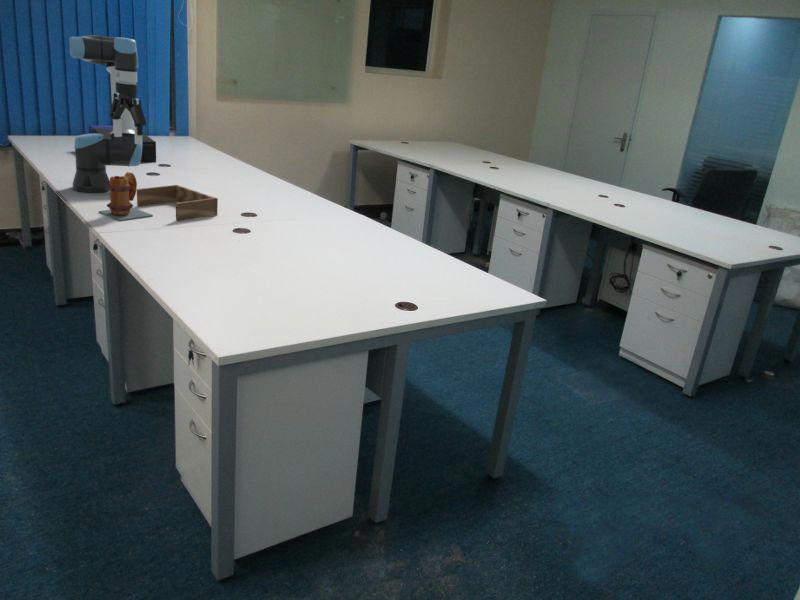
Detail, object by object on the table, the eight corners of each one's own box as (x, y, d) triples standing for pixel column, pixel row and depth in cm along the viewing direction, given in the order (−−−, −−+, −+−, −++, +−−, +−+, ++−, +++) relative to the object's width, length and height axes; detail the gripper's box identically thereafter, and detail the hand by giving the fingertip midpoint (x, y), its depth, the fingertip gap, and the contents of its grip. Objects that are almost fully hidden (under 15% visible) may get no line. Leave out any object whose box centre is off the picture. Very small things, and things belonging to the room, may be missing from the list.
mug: (122, 218, 243) (120, 178, 238) (103, 214, 245) (101, 175, 239) (144, 210, 257) (143, 173, 251) (126, 207, 258) (125, 169, 253)
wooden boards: (137, 205, 264) (136, 189, 261) (177, 200, 279) (176, 184, 276) (177, 221, 250) (177, 203, 248) (217, 215, 266) (217, 198, 263)
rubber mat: (98, 212, 249) (98, 211, 249) (131, 208, 260) (131, 206, 259) (120, 221, 242) (119, 219, 241) (152, 216, 253) (152, 215, 252)
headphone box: (133, 150, 373) (132, 125, 368) (156, 162, 349) (156, 135, 344) (88, 150, 357) (86, 124, 352) (108, 163, 333) (107, 135, 328)
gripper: (98, 77, 243) (100, 134, 251) (136, 87, 230) (138, 147, 238) (116, 77, 249) (118, 133, 257) (155, 88, 236) (156, 146, 244)
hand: (128, 140), depth 248 cm, fingers open, 13 cm apart
